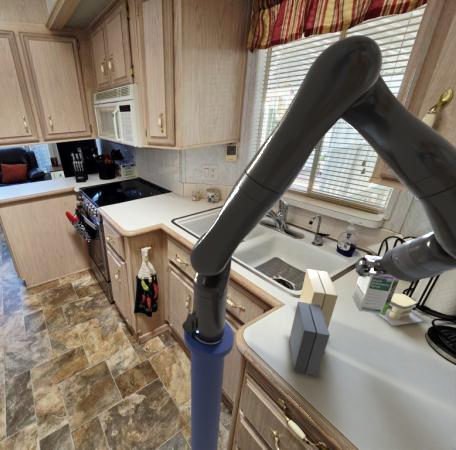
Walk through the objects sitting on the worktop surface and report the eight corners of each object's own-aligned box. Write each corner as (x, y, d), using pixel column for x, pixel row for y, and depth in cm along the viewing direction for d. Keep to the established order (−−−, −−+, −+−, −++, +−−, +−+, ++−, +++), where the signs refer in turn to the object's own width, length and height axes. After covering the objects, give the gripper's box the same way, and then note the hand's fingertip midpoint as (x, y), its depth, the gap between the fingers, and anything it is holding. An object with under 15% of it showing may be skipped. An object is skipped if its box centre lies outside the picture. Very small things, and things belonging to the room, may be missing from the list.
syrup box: (358, 311, 66) (375, 265, 60) (351, 297, 71) (365, 253, 65) (385, 316, 64) (404, 269, 58) (375, 301, 69) (393, 256, 63)
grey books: (293, 370, 63) (304, 330, 57) (289, 339, 71) (297, 301, 66) (316, 376, 61) (329, 335, 55) (309, 343, 70) (319, 305, 64)
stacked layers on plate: (393, 301, 82) (399, 287, 80) (423, 321, 74) (430, 307, 72) (366, 305, 81) (371, 291, 79) (393, 326, 73) (399, 311, 71)
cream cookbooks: (302, 335, 72) (313, 291, 66) (297, 309, 82) (306, 268, 75) (324, 340, 70) (338, 295, 64) (316, 312, 80) (327, 271, 73)
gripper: (460, 246, 49) (407, 264, 64) (371, 238, 54) (341, 257, 69) (468, 283, 47) (411, 293, 62) (374, 272, 52) (343, 284, 67)
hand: (374, 274), depth 65 cm, fingers closed on syrup box, 5 cm apart
